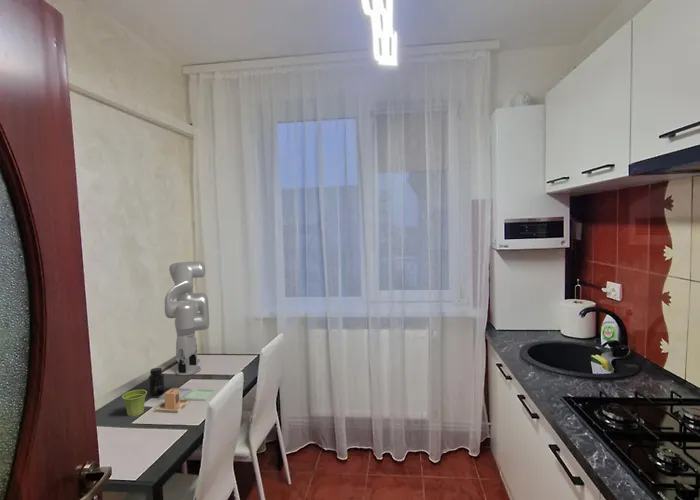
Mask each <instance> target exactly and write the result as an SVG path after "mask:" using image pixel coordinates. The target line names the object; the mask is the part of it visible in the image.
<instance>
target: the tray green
mask: <svg viewBox="0 0 700 500" xmlns="http://www.w3.org/2000/svg"><path fill="white" fill-rule="evenodd" d="M216 392H217V389H215V388H213V389H212V388H194V389H192V391H191V392H190V393H189V394H188V395H186V396H185V397H184V398H183V399H182V400H190V402H192V401H193V402H206V401H207V400H209V399H210V398H211V397H212V396H213V395H214V394H215V393H216Z"/></svg>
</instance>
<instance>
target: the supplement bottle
mask: <svg viewBox="0 0 700 500" xmlns="http://www.w3.org/2000/svg"><path fill="white" fill-rule="evenodd" d="M149 372H150V375H148V379H147V380H148V381H147V382H148V395H149V396H151V397H156V396H158V397H159V396H161V395H163V394H164V393H165V392H166V391H165V375H164V374H163V372H162V367H154V368H151V369H150V371H149Z"/></svg>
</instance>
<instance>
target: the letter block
mask: <svg viewBox="0 0 700 500" xmlns="http://www.w3.org/2000/svg"><path fill="white" fill-rule="evenodd" d="M169 389H170V390H169ZM169 389H168V390H166V391H165V392H164V393H163V394H164V400H165V401H164V402H165V409H174V410H175V409H176V408H177V407H178V406H180V389H171V388H169Z"/></svg>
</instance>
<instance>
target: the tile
mask: <svg viewBox="0 0 700 500" xmlns="http://www.w3.org/2000/svg"><path fill="white" fill-rule="evenodd" d="M164 402H165V400H164V399H159V397H158V398H155V397H151V398H149V399H148V400H147V401H145V403H144V408H146V407H149V408H151V407H152V408H157V407H158V406H160V405H161V404H162V403H164Z"/></svg>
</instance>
